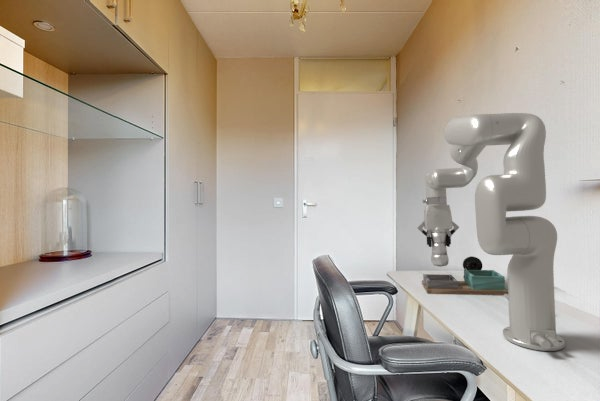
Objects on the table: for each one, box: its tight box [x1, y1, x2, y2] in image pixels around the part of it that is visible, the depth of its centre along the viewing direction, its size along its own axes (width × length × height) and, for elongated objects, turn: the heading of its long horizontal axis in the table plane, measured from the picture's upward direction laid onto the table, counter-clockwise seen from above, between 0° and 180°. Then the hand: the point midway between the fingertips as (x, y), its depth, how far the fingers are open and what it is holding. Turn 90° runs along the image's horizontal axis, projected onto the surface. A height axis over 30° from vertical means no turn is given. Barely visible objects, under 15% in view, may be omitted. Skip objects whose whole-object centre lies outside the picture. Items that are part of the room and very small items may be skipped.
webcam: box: [462, 256, 483, 271], centre depth 139 cm, size 8×8×10 cm
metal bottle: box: [430, 227, 449, 267], centre depth 126 cm, size 6×7×20 cm
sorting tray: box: [421, 269, 508, 296], centre depth 124 cm, size 14×28×6 cm, turn 77°
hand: (438, 246), depth 126 cm, fingers closed on metal bottle, 6 cm apart
